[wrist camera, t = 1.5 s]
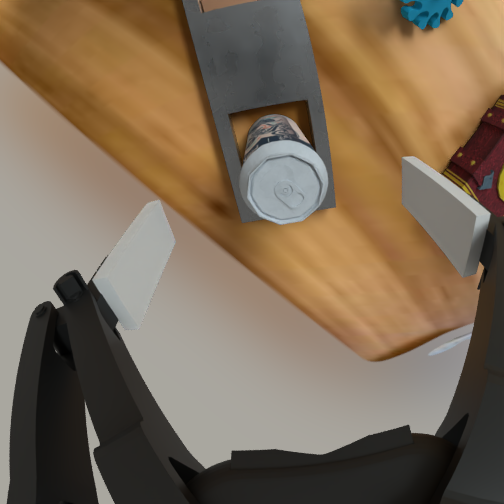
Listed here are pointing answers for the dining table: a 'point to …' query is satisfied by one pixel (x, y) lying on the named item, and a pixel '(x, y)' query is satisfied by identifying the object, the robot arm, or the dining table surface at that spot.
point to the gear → (428, 11)
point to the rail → (257, 72)
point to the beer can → (281, 172)
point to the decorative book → (483, 162)
